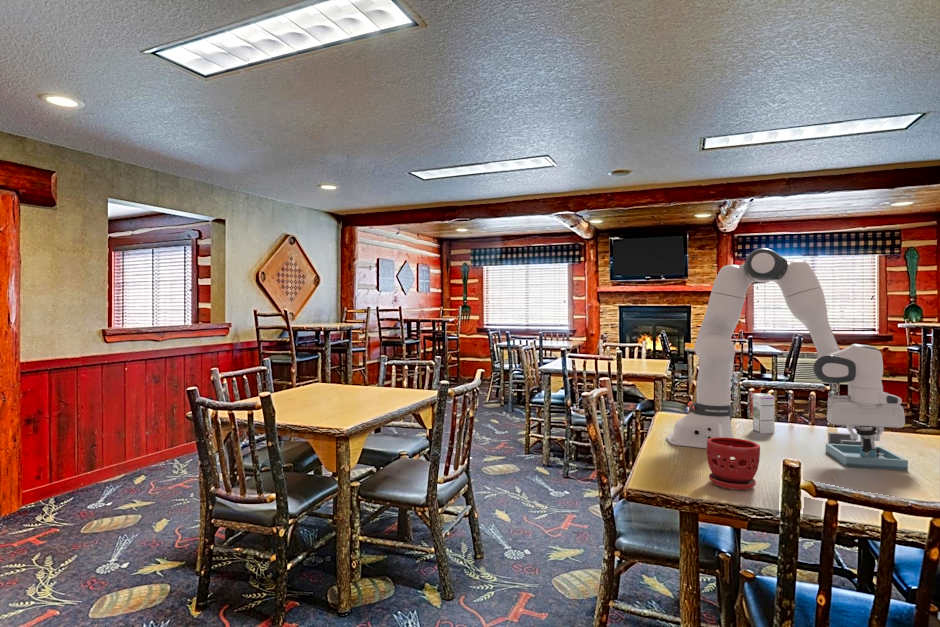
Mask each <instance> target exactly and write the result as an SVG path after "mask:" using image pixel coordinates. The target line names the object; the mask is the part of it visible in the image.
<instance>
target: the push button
mask: <svg viewBox="0 0 940 627" xmlns="http://www.w3.org/2000/svg"><path fill="white" fill-rule="evenodd" d="M854 430H855V431H856V434H858V436H859V438H860V441H861V448H859V450H860V456H863V457H870V458H878V457H881V458H884V457H882V456H879V454H880V455H884V454H881V453H880V452H879V449H877V448H876V447H875V446H876V443H875V441H874V436H873V435H875V434H876V431H877V429H876V427H875V426H857V427H854Z"/></svg>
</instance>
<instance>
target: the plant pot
mask: <svg viewBox="0 0 940 627" xmlns="http://www.w3.org/2000/svg"><path fill="white" fill-rule="evenodd" d="M731 446H732V447H731ZM760 455H761V445H760V444H758V443H757V442H754V441H750V440H747V439H743V438H736V437H735V438H726V437H715V438H709V439H708V440H707V448H706V456H707V463H708V467H709V469H710V471H711V472H710V473H709V475H708V479H709V481H711V483H713V484H714V485H716V486H718V487H721V488H722V489H723V488H724V489H726V490H734V491H735V490H737V491H738V490H739V491H744V490H751V489H752V488H754V487H755V486H756V484H757V481H756V480H755V479H754V478H755V476H756V474H757V472H758V469H759V464H760V458H761V456H760ZM731 458H734V459H731Z"/></svg>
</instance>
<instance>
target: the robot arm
mask: <svg viewBox="0 0 940 627" xmlns="http://www.w3.org/2000/svg"><path fill="white" fill-rule="evenodd" d="M769 282H774V283H775V284H777V285H778V287H779V288H780V289H781V293H782V295H783V298H784V300H785V303H786V305H787V307H788V309H789V311H790V312H791V314H792V315H793V317H794V318H795V319H796V320H798V321H799V322H801V323H802V324H803V326H805V328H806V329H807V331H808V332H809V335H810V336H811V339H812V342H813V344H814V347H815V349H816V352H817V359H816V360H815V362H814V364H813V373H814V375H815V377H816V378H817V379H818V380H819V381H821V382H823V383H827V384H829V385H830V384H833V385H834V384H840V383H841V384H842V383H847V394H846V395H842V394H841V395H838V394H833V395H832V396H830V397H828V398H827V407H828V408H827V414H826V420H827V421H828V422H829V423H830V424H832V425H837V426H845V428H846V430H847V431H848V432H849V434H850V438H851V439H853V440H856V441H859V434H857V432H854V430H855V426H857V427H858V426H872V427H875V428H876V434H875V435H873V436H874V442H875V441H876V442H879V441H880V436H882V434H883V433H884V431H885V428H899V429H900V428H901V429H902V428H903V427H904V426H905V424H906V417H905V410H904V407H903V406H902V405H901V404H902V402H903V401H902V400H903V399H902V398H901V397H900V396H897V395H894V394H890V393H889V392H886V391H884V386H883V382H882V380H883V375H884V361H883V354H882V352H881V351H880V349H878V348H877V347H875V346H872V345H868V344H863V343H862V344H860V343H852V344H850V345H849V346H847V347H845V348H843V349H841V348H840V347H839V345H838V342H837V340H836V338H835V335H834V333H833V330H832V329H831V326H830V323H829V318H828V317H829V316H828V308H827V302H826V298H825V294H824V291H823V288H822V286H821V284H820V283H821V282H819V279H818V276H817V275H816V273H815V272H814V270H813V268H812V267H811V266H810V264H809V263H808V262H807V261H805V260H801V259H800V260H799V259H797V260H791V261H788V260H787V259H786V258H784V256H781V255H780V254H779V253H778V252H777V251H774V250H772V249H769V248H767V247H766V248H764V247H763V248H757V249H755V250H753V251H751V252H750V253H749V254H748V256H747V257H746V259H745V261H744V262H743V263H742V264H727V265H724V266H723V267H721V268H720V269H719V271H718V273H717V275H716V278H715V280H714V281H713V285H712V288H711V291H710V292H711V293H710V295H709V299H708V303H707V307H706V311H705V315H704V317H703V319H702V322H701V325H700V327H699V331H698V332H697V336H696V339H695V342H694V347H693V348H694V353H695V355H696V357H697V358H698V359H699V362H698V372H697V378H696V401H695V402H693V401H688V403H687V406H688V408H690V410H689V411H690V412H689V413H687V414H686V415H685V416H683V417H681V418H679V420H677V421H676V422H675V424H674V427H673V433H669V434H668V435H667V436H666V440H667V442H669V443H670V444H671V445H673V446H680V447H688V448H689V447H691V448H701V449H707V440H708V439H709V438H715V437H726V438H734V434H733V427H732V421H733V405H732V404H731V394H732V393H731V390H732V387H731V386H732V378H733V377H732V376H733V370H734V364H735V362H734V361H735V355H736V348H735V345H734V343H733V342H732V340H731V339H732V336H733V334H734V333H735V330H736V327H737V325H738V323H739V322H740V319H741V315H742V310H743V307H744V303H745V299H746V296H747V292H748V290H749V287H750V286H751V285H756V284H757V285H758V284H765V283H769ZM731 447H732V446H731Z"/></svg>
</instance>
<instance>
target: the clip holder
mask: <svg viewBox="0 0 940 627" xmlns="http://www.w3.org/2000/svg"><path fill="white" fill-rule="evenodd" d="M827 435H828V436H827V437H828V441H827V442H828V444H843V445H861V440H853V439H851V438H850V433H847V432H846V433H844V432H828V434H827Z"/></svg>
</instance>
